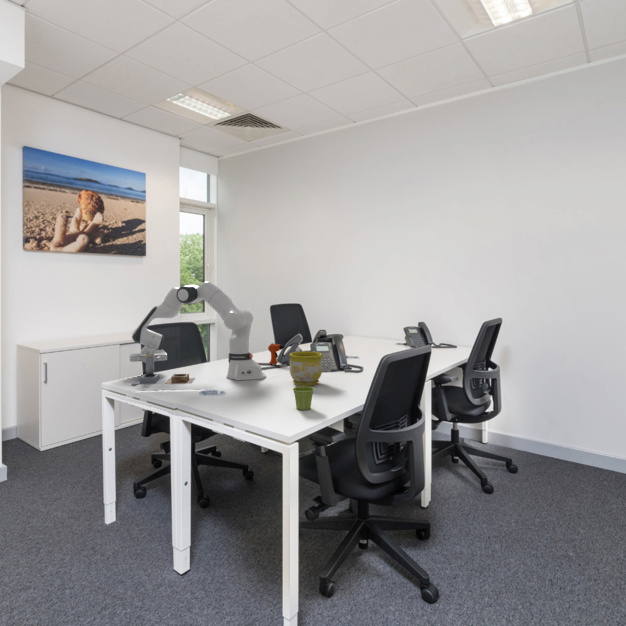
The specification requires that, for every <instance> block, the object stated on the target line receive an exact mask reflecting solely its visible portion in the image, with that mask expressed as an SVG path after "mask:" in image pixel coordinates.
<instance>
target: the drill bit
mask: <svg viewBox="0 0 626 626" xmlns="http://www.w3.org/2000/svg"><path fill="white" fill-rule="evenodd" d="M145 374H146V377H154V374H155V362H154V353H147V354H146V363H145Z"/></svg>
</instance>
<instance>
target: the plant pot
mask: <svg viewBox="0 0 626 626" xmlns="http://www.w3.org/2000/svg"><path fill="white" fill-rule="evenodd" d="M292 391H293V393H294V398H295V399H294V400H295V405H296V409H297V410H300V411H308V410H311V406H312V400H313V394H314V391H315V388H314V387H313V386H295V387H293V388H292Z"/></svg>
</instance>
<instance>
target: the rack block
mask: <svg viewBox="0 0 626 626" xmlns="http://www.w3.org/2000/svg"><path fill="white" fill-rule="evenodd" d="M167 381H168V378H160V374H159V373H154V377H146V373H144V374H142V376H140V377H139V378H137V379H136V380H134V381H133V382H132V383H130V384H131V385H137V386H139V385H143V384H144V385H146V384H147V385H148V384H152V385H153V384H154V385H155V384H162V385H163V384H165V383H166V382H167ZM131 385H130V386H131Z"/></svg>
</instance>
